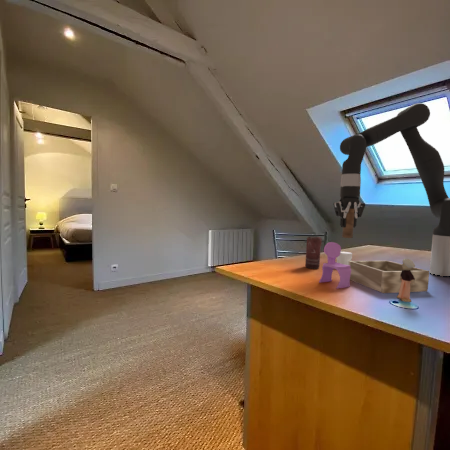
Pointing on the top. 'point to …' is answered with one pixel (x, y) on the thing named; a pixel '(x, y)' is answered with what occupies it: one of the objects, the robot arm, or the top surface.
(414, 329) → the top surface
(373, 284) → the crate
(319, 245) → the can
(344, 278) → the toy chair
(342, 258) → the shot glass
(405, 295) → the grandmother figurine
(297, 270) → the top surface
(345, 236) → the peg
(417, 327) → the top surface
